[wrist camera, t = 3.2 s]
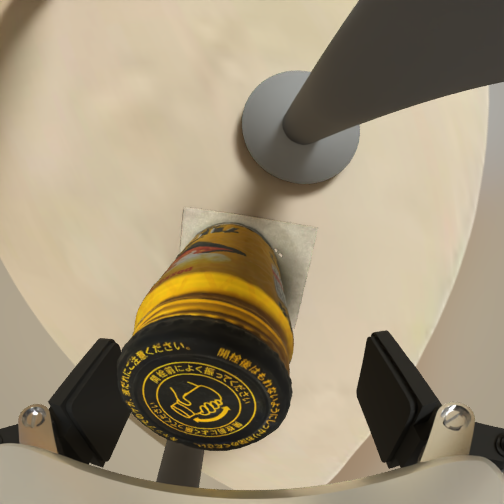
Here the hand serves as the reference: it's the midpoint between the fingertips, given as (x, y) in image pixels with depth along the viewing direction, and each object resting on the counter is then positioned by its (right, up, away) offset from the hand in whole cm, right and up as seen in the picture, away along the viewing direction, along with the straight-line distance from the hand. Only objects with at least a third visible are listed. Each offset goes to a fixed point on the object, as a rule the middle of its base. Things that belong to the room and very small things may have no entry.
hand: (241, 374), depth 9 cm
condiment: (0, +3, +9) cm, 10 cm away
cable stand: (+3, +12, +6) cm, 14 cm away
